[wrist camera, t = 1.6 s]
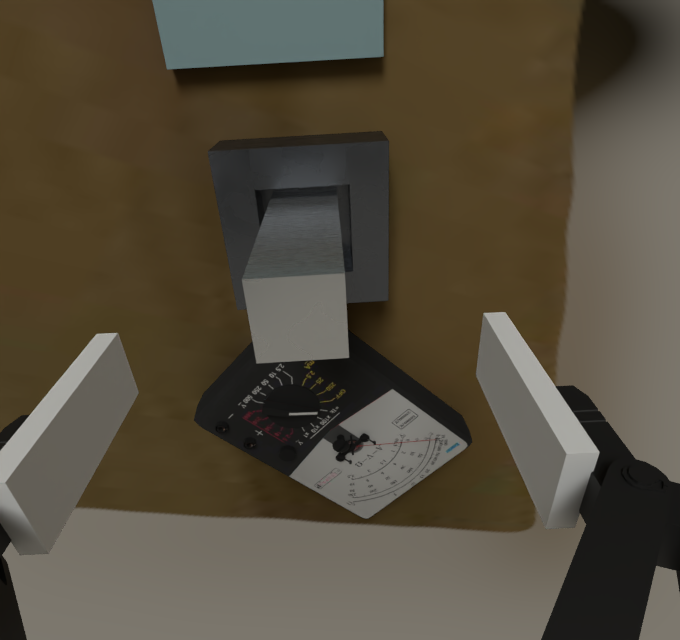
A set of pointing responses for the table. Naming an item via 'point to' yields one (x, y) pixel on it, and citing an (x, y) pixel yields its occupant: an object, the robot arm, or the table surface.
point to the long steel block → (298, 279)
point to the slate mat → (267, 31)
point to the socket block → (308, 173)
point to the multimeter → (335, 424)
